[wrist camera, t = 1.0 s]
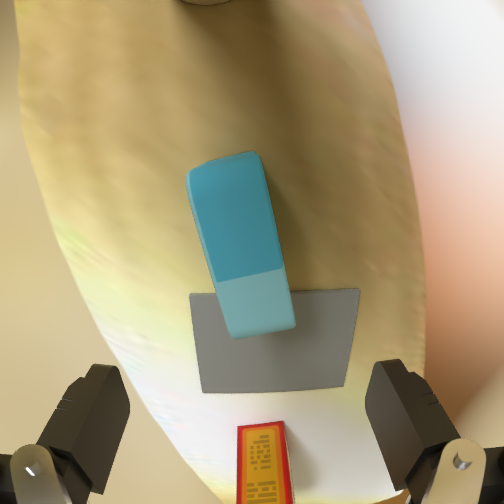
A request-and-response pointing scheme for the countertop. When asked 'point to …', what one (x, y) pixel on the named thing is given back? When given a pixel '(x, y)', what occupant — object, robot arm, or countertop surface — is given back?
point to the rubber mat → (277, 346)
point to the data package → (241, 244)
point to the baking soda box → (263, 465)
